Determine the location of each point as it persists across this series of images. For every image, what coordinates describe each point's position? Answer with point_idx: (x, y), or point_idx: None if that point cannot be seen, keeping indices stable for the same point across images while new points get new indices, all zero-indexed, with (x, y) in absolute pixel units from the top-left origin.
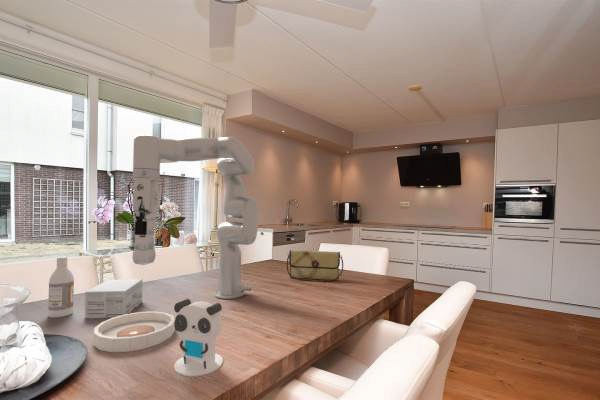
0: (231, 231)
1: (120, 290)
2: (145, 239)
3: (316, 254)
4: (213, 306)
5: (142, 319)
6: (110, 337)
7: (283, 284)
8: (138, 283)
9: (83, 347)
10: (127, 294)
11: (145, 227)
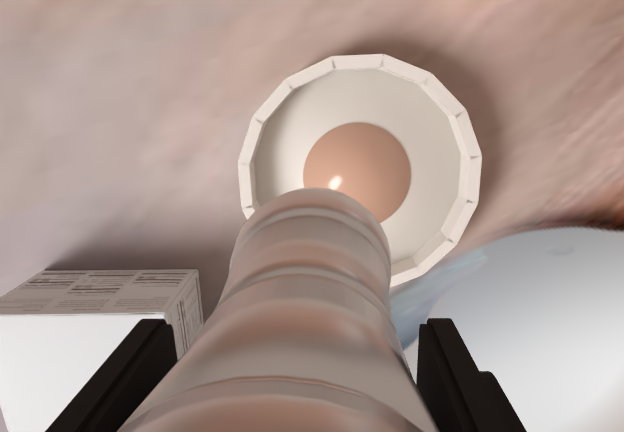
0: None
1: None
2: (384, 303)
3: None
4: None
5: (256, 195)
6: (465, 215)
7: None
8: (24, 310)
9: (420, 279)
10: (151, 302)
11: (476, 379)
